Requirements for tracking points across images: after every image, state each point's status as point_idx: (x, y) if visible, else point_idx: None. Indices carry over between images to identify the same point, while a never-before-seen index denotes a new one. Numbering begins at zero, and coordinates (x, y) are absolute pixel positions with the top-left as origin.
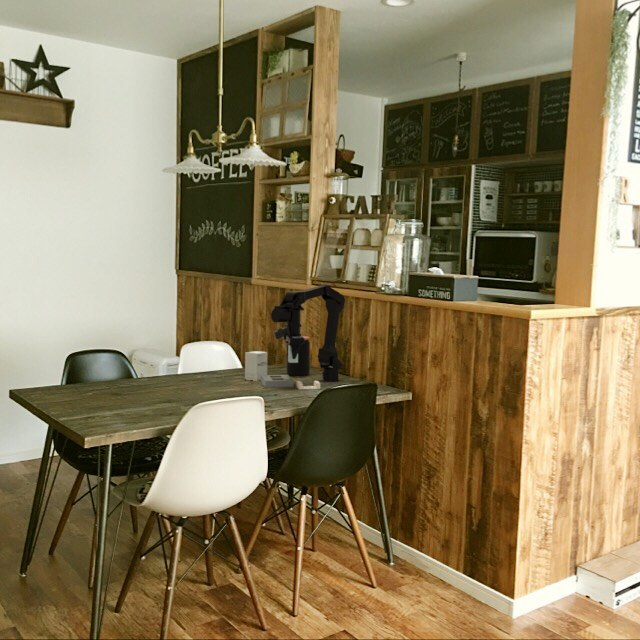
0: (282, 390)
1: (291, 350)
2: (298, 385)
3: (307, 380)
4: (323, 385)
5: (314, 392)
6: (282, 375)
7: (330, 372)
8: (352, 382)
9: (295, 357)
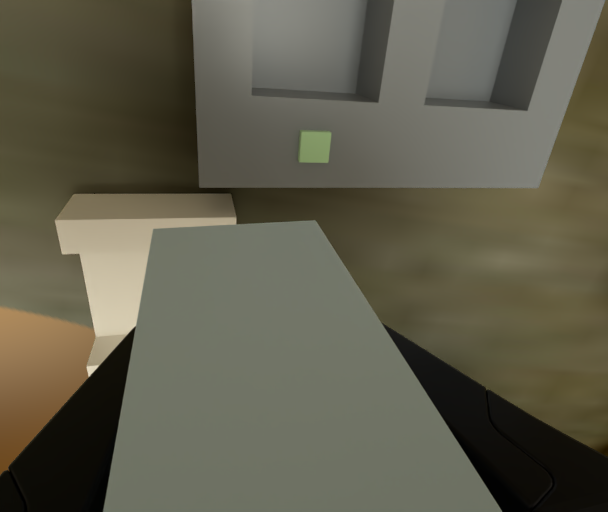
0: (114, 34)
1: (37, 493)
2: (100, 210)
3: (511, 303)
4: None
5: (4, 305)
6: (527, 130)
7: None
8: None
9: None
